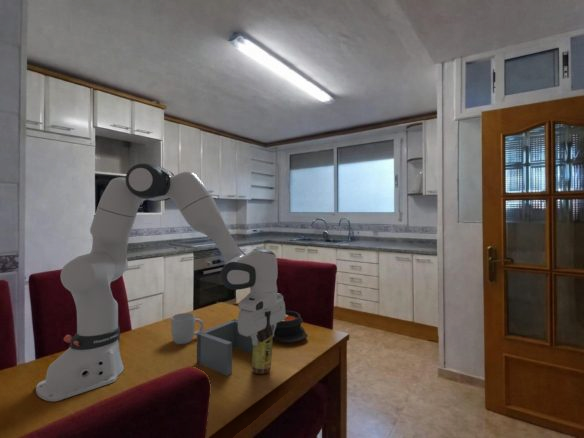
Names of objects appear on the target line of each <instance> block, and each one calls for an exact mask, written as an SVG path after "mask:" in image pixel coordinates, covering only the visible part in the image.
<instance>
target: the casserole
mask: <svg viewBox="0 0 584 438" xmlns="http://www.w3.org/2000/svg"><path fill="white" fill-rule="evenodd" d="M285 313H286V316H285V319H284V320H282V321H280V322H278V323H276V328H275V331H274V337H273V340H277V341H281V342H282V343H296V342H299V341H300V342H301V341H303V340H305V339H306V338H308V334H307V332H306V330H305V328H304V326H302V323H303V321H304V320H303V319H302V317H301V314H300V313H298V312H297V311H293V310H286V309H285Z"/></svg>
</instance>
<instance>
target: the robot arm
mask: <svg viewBox="0 0 584 438" xmlns="http://www.w3.org/2000/svg"><path fill="white" fill-rule="evenodd" d="M170 199H171V200H172V201H173V202H174V203H175V206H176V207H177V209H178V210H179V212H180V214H181V215H182V218H183V219H184V220H185V222H186V223H187V224H188V225H189V226H190V227H191V229H193V230H194V231H196V232H199V233H201V234H203V235H205V236H207V237H209V239H210V240H212V241H213V243H214V244H215V246H216V247H217V249H218V250H219V252H220V253H221V255H222V257H223V258H224V260H225V264H224V265H223V267H222V268H221V270H220V276H219V277H220V281H221V283H222V285H223V286H224V287H225V288H227V289H228V290H231V291H238V290H243V289H249V293H247V295H246V296H245V297H243V298H242V299H241V300H239V302H238V308H239V309H240V310H239V311H238V316H237V320H238V332H239V334H240V335H243V336H247V337H248V336H250V337H251V338H252V344H253V345H255V346H256V345H258V344H259V339H257V336H256V335H257V332H259V331H261V330H263V329H265V328H266V325H267V317H266V316H265V312H268V311H271V315H270V326H271V329H272V332H273V337H274V331H275V328H276V323H278V322H280V321H282V320H284V319H285V316H286V313H285V310H286V303H285V301H284V295H282V293H278V285H277V279H278V273H279V272H278V259H277V256H276V254H275V253H274V252H273V251H271V250H269V249H266V248H254V249H252V250H251V251H250V252H247V253H245V252H244V251H243V250H242V249H241V248H240V247H239V245H238V243H237V242H236V240H235V239H234V237H233V236H232V234H231V232H230V231H229V229H228V227H227V226H226V223H225V220H224V218H223V217H222V215H221V211H220V209H219V207H218V205H217V203H216V201H215V199H214V197H213V196H212V194H211V192H210V191H209V189H208V188H207V187H206V185H205V184H204V182H203V180H201V179H200V177H199V176H197V174H196V173H194V172H193V171H183V172H179V173H177V174H174V173H173V172H172V171H169V170H167V169H166V168H164V167H162V166H159V165H158V166H157V165H154V164H152V163H145V162H144V163H143V162H141V163H137V164H135V165H133V166H131V168H129V169H128V171H127V172H126V175H125V177H123V176H122V177H115V178H112V179H111V180H110V181H109V182H108V184H107V186H106V187H105V189H104V191H103V193H102V194H101V197H100V199H99V202H98V204H97V208H96V210H95V214H94V217H93V219H92V223H91V226H90V228H89V232H90V234H91V236H92V246H91V250H90V252H89V253H87V254H82V255H78V256H77V257H75V258H73V259H72V260H70V261H68V262H67V263H65V265H64V266H63V267H62V269H61V271H60V275H59V276H60V277H59V278H60V281H61V284H62V286H63V287H64V288H65V289H66V290H68V291H69V292H70V294H71V295H72V298H73V301H74V304H75V309H76V333H75V334H74V335H73V336H72V335H70V334H66V335H65V336H64V337H63V341H64V342H66V343H67V344H69V347H68V348H67V349H66V350H65V351H64V352H63V353H62V354H60V355H59V356H58V357H57V358H56V359H55V360H53V362H51V363H50V364H49V366H48V368H47V370H46V375H45V379H43V380H42V381H40V382H38V383H37V384H36V387H35V393H36V395H37V396H38V397H39V398H40V399H42V400H44V401H47V402H58V401H62V400H64V399H68V398H70V397H74V396H76V395H77V396H78V395H80V394H83V393H86V392H89V391H92V390H95V389H98V388H100V387H103V386H107V385H109V384H112V383H114V382H115V381H116V380H117V379H118V377H119V375H120V374H122V372H123V371H124V369H125V366H124V364H123V361H122V356H121V350H120V345H119V344H120V343H119V342H120V340H121V339H120V336H121V331H120V325H119V304H118V302H117V300H116V299H115V298H114V296H113V293H112V289H111V283H112V282H114V281H117V280H119V278H120V277H122V275H124V274H125V272H126V271H127V269H128V266H129V264H128V263H129V262H128V258H127V254H128V243H129V238H130V236H131V233H132V228H133V227H134V223H135V220H136V217H137V213H138V210H139V208H140V205H141V204H143V202H145V201H152V202H156V201H157V202H162V201H163V202H164V201H168V200H170Z"/></svg>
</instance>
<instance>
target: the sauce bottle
mask: <svg viewBox="0 0 584 438" xmlns="http://www.w3.org/2000/svg"><path fill="white" fill-rule="evenodd" d="M270 315H271V311H268V312H265V316H266V317H267V325H266V328H265V329H263V330H261V331H259V332H257V335H256V336H257V339H259V344H258V345H256V346H255V345H253V354H252V361H251V362H252V363H251V364H252V367H251V369H252V372H254V373H255V374H259V375H264V374H267V373H269V372H270V371H271V368H272V357H273V356H272V354H273V340H274V339H273V332H272V329H271V326H270Z"/></svg>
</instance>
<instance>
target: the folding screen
mask: <svg viewBox="0 0 584 438" xmlns="http://www.w3.org/2000/svg"><path fill="white" fill-rule="evenodd" d="M233 349H237V350H240V351H243V352H245V353H249V354H252V355H253V344H252V338H251V337H250V336H248V337H247V336H243V335H240V334H239V332H238V319H231V320H229V321H226V322H224V323H222V324H219V325H216V326H214V327H211V328H208V329H205V330H202V331H201V332H200V333H198V334H197V335H196V363H197V364H199V365H201V366H205V367H206V368H208V369H211V370H213V371H215V372H218V373H220V374H222V375H225V376H230V375H231V374H232V373H233Z"/></svg>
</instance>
